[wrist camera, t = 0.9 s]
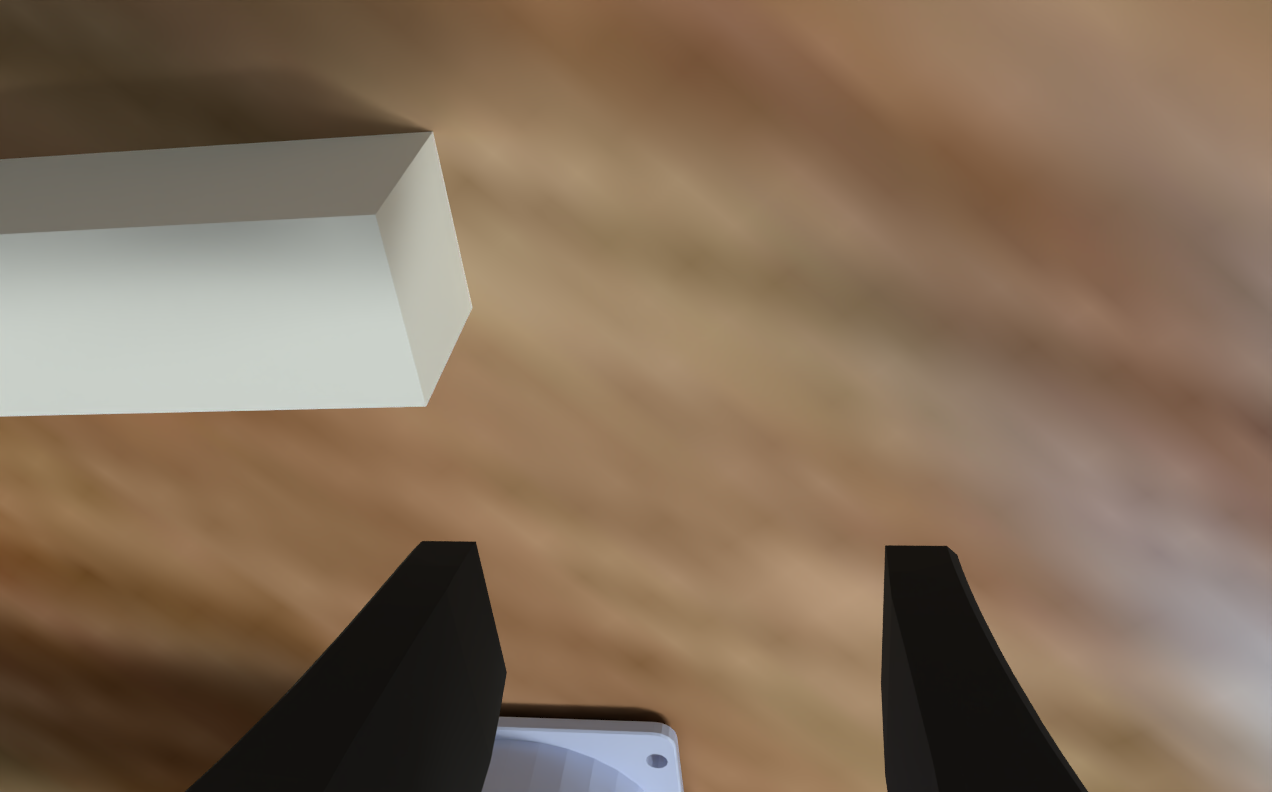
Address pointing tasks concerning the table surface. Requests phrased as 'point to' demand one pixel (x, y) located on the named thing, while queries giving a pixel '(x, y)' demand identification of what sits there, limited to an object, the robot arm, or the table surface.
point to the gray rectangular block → (228, 278)
